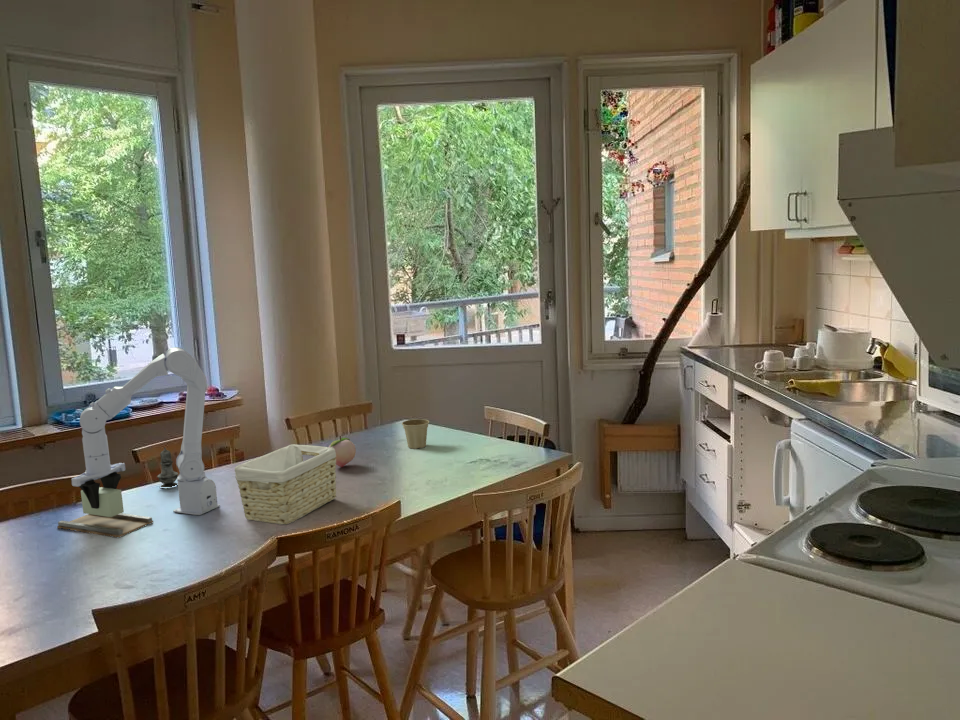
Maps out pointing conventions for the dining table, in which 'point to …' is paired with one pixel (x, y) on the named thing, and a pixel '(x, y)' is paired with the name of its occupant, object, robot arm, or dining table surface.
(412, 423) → the flower pot
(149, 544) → the dining table surface
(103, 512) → the pale green block
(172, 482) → the grey tall carved piece
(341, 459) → the decorative fruit
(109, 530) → the floor track
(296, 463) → the storage basket
